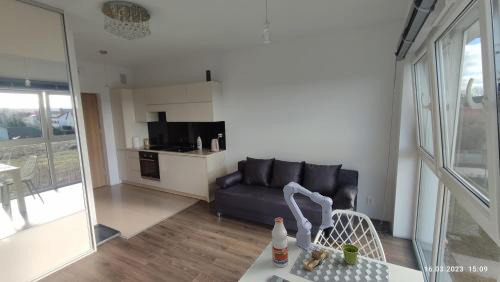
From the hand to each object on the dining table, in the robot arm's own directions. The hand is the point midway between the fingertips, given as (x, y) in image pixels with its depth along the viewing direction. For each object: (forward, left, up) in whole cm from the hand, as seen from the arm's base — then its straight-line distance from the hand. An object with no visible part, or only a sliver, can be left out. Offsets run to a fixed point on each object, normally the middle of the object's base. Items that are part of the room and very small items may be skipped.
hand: (327, 237), depth 148 cm
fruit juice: (-14, -30, -10) cm, 35 cm away
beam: (+1, -14, -10) cm, 17 cm away
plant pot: (+15, 0, -10) cm, 18 cm away
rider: (+1, -14, -8) cm, 16 cm away
